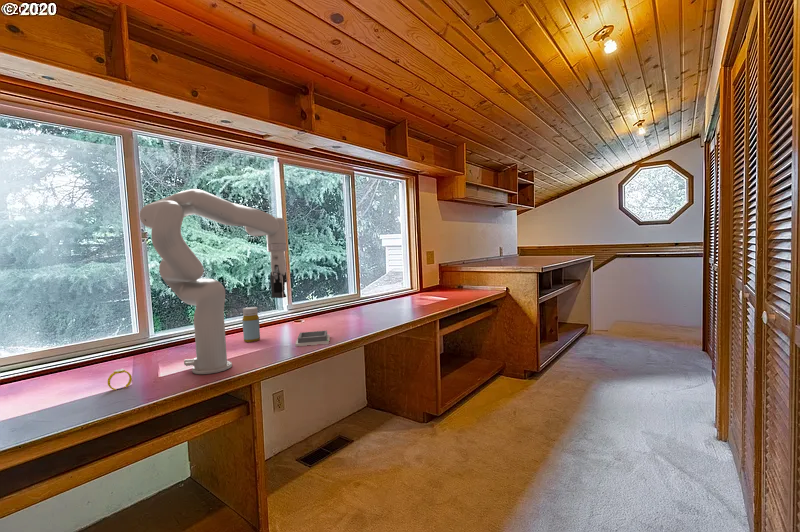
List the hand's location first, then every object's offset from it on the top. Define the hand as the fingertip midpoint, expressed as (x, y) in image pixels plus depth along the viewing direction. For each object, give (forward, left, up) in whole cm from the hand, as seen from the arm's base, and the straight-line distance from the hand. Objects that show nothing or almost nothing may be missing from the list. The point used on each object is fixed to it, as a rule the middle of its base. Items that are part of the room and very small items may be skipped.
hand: (279, 291), depth 163 cm
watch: (-44, -36, -24) cm, 62 cm away
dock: (+12, +7, -24) cm, 28 cm away
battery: (0, 0, -3) cm, 3 cm away
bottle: (-16, +19, -24) cm, 35 cm away
